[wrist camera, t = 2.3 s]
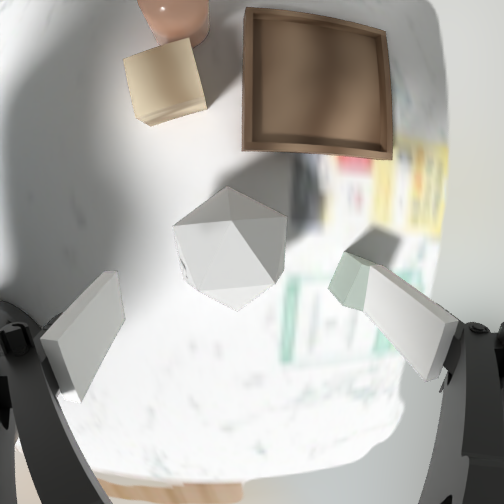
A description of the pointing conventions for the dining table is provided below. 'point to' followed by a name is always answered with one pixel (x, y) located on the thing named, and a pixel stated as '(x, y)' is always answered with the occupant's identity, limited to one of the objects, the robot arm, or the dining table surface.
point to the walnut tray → (315, 86)
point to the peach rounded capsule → (177, 19)
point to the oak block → (164, 83)
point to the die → (231, 248)
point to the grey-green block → (351, 281)
